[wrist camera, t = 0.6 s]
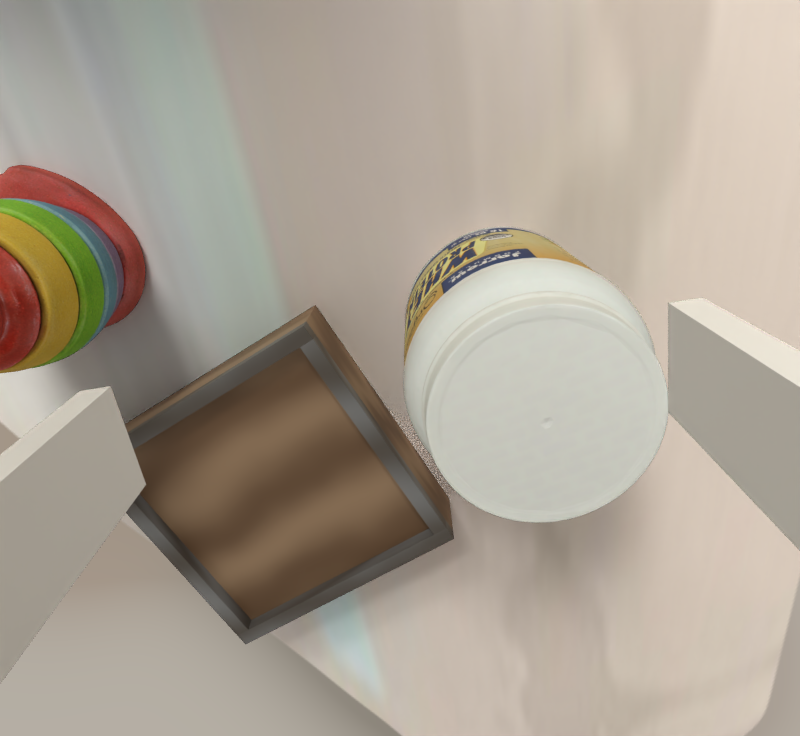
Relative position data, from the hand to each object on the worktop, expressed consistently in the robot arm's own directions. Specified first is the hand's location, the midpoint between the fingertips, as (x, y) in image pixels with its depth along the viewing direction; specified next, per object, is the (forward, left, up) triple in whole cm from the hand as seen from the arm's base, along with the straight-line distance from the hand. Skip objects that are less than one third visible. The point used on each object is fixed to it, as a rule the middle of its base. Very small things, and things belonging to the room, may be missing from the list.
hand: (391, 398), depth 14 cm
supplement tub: (+8, +2, -27) cm, 28 cm away
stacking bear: (-10, -20, -27) cm, 35 cm away
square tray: (+10, -17, -27) cm, 33 cm away
